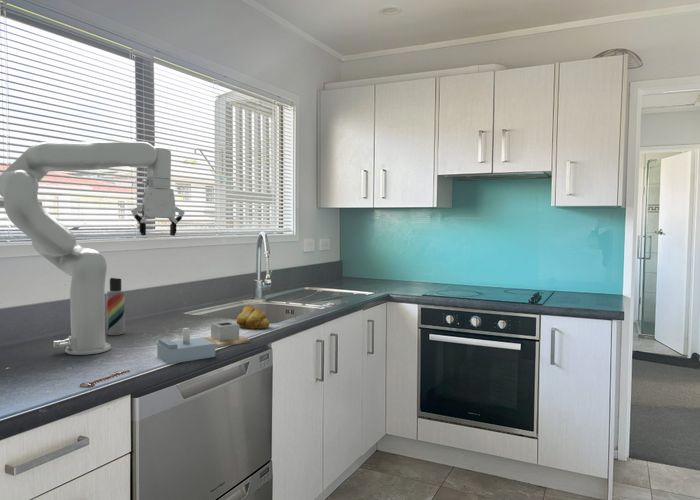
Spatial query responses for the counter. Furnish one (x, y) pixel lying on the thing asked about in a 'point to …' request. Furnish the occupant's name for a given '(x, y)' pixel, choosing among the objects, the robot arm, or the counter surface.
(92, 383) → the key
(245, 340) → the cork mat
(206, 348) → the vise block
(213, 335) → the grey block with hole
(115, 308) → the lotion bottle
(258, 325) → the bread roll
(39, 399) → the counter surface
